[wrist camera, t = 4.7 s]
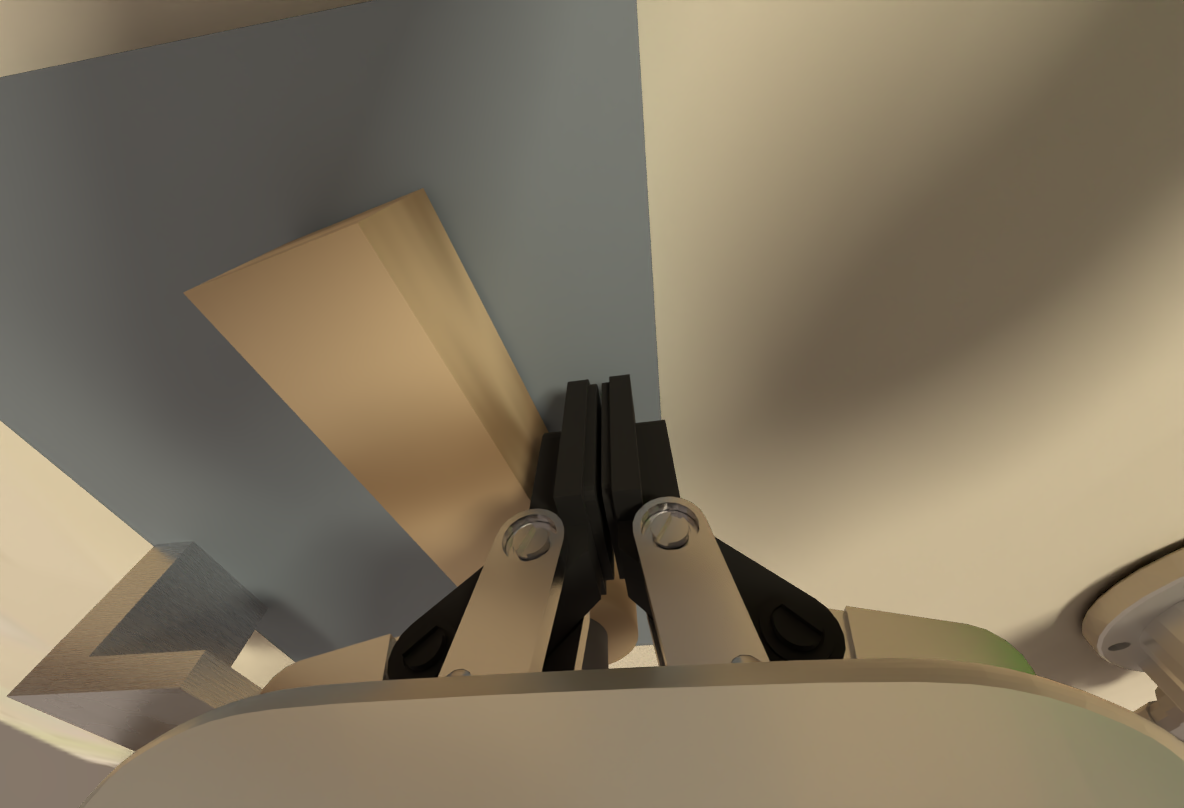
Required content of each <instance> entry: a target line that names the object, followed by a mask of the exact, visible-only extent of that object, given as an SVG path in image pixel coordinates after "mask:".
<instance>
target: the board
mask: <svg viewBox="0 0 1184 808" xmlns="http://www.w3.org/2000/svg"><path fill="white" fill-rule="evenodd" d="M422 188H424V190H425V192H426V194H427V196H428V198H429V200H430V202H431V204H432V206H433V208H434V210H435V212H436V214H437V216H438V218H439V220H440V221H441V223H442V225H443V227H444V229H445V231H446V233H447V235H448V237H449V239H450V241H451V243H452V245H453V247H454V249H455V251H456V253H457V255H458V257H459V259H460V260H461V262H462V264H463V266H464V268H465V270H466V272H467V274H468V276H469V278H470V280H471V282H472V284H473V286H474V288H475V290H476V292H477V294H478V296H479V297H480V299H481V301H482V303H483V305H484V307H485V309H486V311H487V313H488V315H489V317H490V319H491V321H492V323H493V325H494V327H495V329H496V331H497V333H498V335H499V336H500V338H501V340H502V342H503V344H504V346H505V348H506V350H507V352H508V354H509V356H510V358H511V360H512V362H513V364H514V366H515V368H516V370H517V372H518V373H519V375H520V377H521V379H522V381H523V383H524V385H525V387H526V389H527V391H528V393H529V395H530V397H531V399H532V401H533V403H534V405H535V407H536V409H537V411H538V412H539V414H540V416H541V418H542V420H543V422H544V424H545V426H546V428H547V430H548V432H549V433H550V432H559V431H561V430H562V422H563V414H564V406H565V398H566V390H567V383H568V382H570V381H578V380H586V379H588V380H589V382H590V384H597V385H598V390H599V396H600V401H601V407H602V383H606V382H609V377H610V376H618V375H626V374H630V380H631V388H632V396H633V404H634V412H635V420H636V423H640V422H649V421H658V420H661V409H660V392H659V375H658V358H657V341H656V325H655V308H654V291H653V274H652V257H651V240H650V223H649V206H648V189H647V172H646V155H645V138H644V121H643V104H642V87H641V70H640V53H639V36H638V19H637V2H636V0H373V1H368V2H364V3H359V4H354V5H349V6H344V7H339V8H335V9H330V10H325V11H320V12H315V13H310V14H305V15H301V16H296V17H291V18H286V19H281V20H276V21H271V22H267V23H262V24H257V25H252V26H247V27H242V28H238V29H233V30H228V31H223V32H218V33H213V34H208V35H204V36H199V37H194V38H189V39H184V40H179V41H174V42H170V43H165V44H160V45H155V46H150V47H145V48H140V49H136V50H131V51H126V52H121V53H116V54H111V55H107V56H102V57H97V58H92V59H87V60H82V61H77V62H73V63H68V64H63V65H58V66H53V67H48V68H43V69H39V70H34V71H29V72H24V73H19V74H14V75H10V76H5V77H0V421H2V422H3V423H4V424H5V425H6V426H8V427H9V428H10V429H11V430H13V431H14V432H15V433H16V434H17V435H19V436H20V437H21V438H22V439H24V440H25V441H26V442H27V443H28V444H30V445H31V446H32V447H33V448H35V449H36V450H37V451H38V452H39V453H41V454H42V455H43V456H44V457H45V458H47V459H48V460H49V461H50V462H52V463H53V464H54V465H55V466H56V467H58V468H59V469H60V470H61V471H63V472H64V473H65V474H66V475H67V476H69V477H70V478H71V479H72V480H74V481H75V482H76V483H77V484H78V485H80V486H81V487H82V488H83V489H85V490H86V491H87V492H88V493H89V494H91V495H92V496H93V497H94V498H96V499H97V500H98V501H99V502H100V503H102V504H103V505H104V506H105V507H106V508H108V509H109V510H110V511H111V512H113V513H114V514H115V515H116V516H117V517H119V518H120V519H121V520H122V521H124V522H125V523H126V524H127V525H128V526H130V527H131V528H132V529H133V530H135V531H136V532H137V533H138V534H139V535H141V536H142V537H143V538H144V539H146V540H147V541H148V542H149V543H150V544H152V545H153V546H155V545H156V544H163V543H175V542H186V541H194V542H195V543H196V544H197V545H198V546H199V547H201V548H202V549H203V550H204V551H205V552H206V553H207V554H208V555H209V556H211V557H212V558H213V559H214V560H215V561H216V562H217V563H218V564H220V565H221V566H222V567H223V568H224V569H225V570H226V571H227V572H228V573H230V574H231V575H232V576H233V577H234V578H235V579H236V580H237V581H239V582H240V583H241V584H242V585H243V586H244V587H245V588H246V589H247V590H249V591H250V592H251V593H252V594H253V595H254V596H255V597H256V598H258V599H259V600H260V601H261V602H262V603H263V604H264V605H265V606H266V607H268V610H267V611H266V613H265V614H264V616H263V618H262V619H261V621H260V622H259V624H258V625H257V627H256V628H255V630H257V631H258V632H259V633H260V634H261V635H263V636H264V637H265V638H266V639H268V640H269V641H270V642H271V643H272V644H274V645H275V646H276V647H277V648H279V649H280V650H281V651H282V652H283V653H285V654H286V655H287V656H288V657H290V658H291V659H292V660H293V661H294V662H298V661H300V660H304V659H307V658H310V657H314V656H317V655H321V654H324V653H327V652H331V651H334V650H337V649H341V648H344V647H347V646H351V645H354V644H357V643H361V642H364V641H368V640H371V639H374V638H378V637H381V636H384V635H388V634H391V635H392V636H393V637H394V638H395V637H399V636H401V634H402V633H403V632H404V631H405V630H406V629H407V628H408V627H409V626H410V625H411V624H413V623H414V622H415V621H416V620H417V619H419V618H420V617H421V616H422V615H424V614H425V613H426V612H427V611H428V610H430V609H431V608H432V607H433V606H435V605H436V604H437V603H438V602H440V601H441V600H442V599H443V598H444V597H446V596H447V595H448V594H449V593H451V592H452V591H453V590H454V589H455V588H457V586H456V585H455V584H454V583H453V581H452V580H451V579H450V578H449V577H448V576H447V575H446V574H445V573H444V572H443V571H442V570H441V569H440V568H439V566H438V565H437V564H436V563H435V562H434V561H433V560H432V559H431V558H430V557H429V556H428V555H427V554H426V553H425V551H424V550H423V549H422V548H421V547H420V546H419V545H418V544H417V543H416V542H415V541H414V540H413V539H412V538H411V536H410V535H409V534H408V533H407V532H406V531H405V530H404V529H403V528H402V527H401V526H400V525H399V524H398V523H397V521H396V520H395V519H394V518H393V517H392V516H391V515H390V514H389V513H388V512H387V511H386V510H385V509H384V508H383V506H382V505H381V504H380V503H379V502H378V501H377V500H376V499H375V498H374V497H373V496H372V495H371V494H370V493H369V491H368V490H367V489H366V488H365V487H364V486H363V485H362V484H361V483H360V482H359V481H358V480H357V479H356V478H355V476H354V475H353V474H352V473H351V472H350V471H349V470H348V469H347V468H346V467H345V466H344V465H343V464H342V463H341V461H340V460H339V459H338V458H337V457H336V456H335V455H334V454H333V453H332V452H331V451H330V450H329V449H328V448H327V446H326V445H325V444H324V443H323V442H322V441H321V440H320V439H319V438H318V437H317V436H316V435H315V434H314V433H313V431H312V430H311V429H310V428H309V427H308V426H307V425H306V424H305V423H304V422H303V421H302V420H301V419H300V418H299V416H298V415H297V414H296V413H295V412H294V411H293V410H292V409H291V408H290V407H289V406H288V405H287V404H286V403H285V401H284V400H283V399H282V398H281V397H280V396H279V395H278V394H277V393H276V392H275V391H274V390H273V389H272V388H271V386H270V385H269V384H268V383H267V382H266V381H265V380H264V379H263V378H262V377H261V376H260V375H259V374H258V373H257V371H256V370H255V369H254V368H253V367H252V366H251V365H250V364H249V363H248V362H247V361H246V360H245V359H244V358H243V356H242V355H241V354H240V353H239V352H238V351H237V350H236V349H235V348H234V347H233V346H232V345H231V344H230V343H229V341H228V340H227V339H226V338H225V337H224V336H223V335H222V334H221V333H220V332H219V331H218V330H217V329H216V328H215V326H214V325H213V324H212V323H211V322H210V321H209V320H208V319H207V318H206V317H205V316H204V315H203V314H202V313H201V311H200V310H199V309H198V308H197V307H196V306H195V305H194V304H193V303H192V302H191V301H190V300H189V299H188V298H187V296H186V295H185V294H184V293H183V292H185V291H188V290H190V289H192V288H194V287H196V286H198V285H200V284H202V283H204V282H206V281H208V280H211V279H213V278H215V277H217V276H219V275H221V274H223V273H225V272H227V271H229V270H232V269H234V268H236V267H238V266H240V265H242V264H244V263H246V262H248V261H250V260H252V259H255V258H257V257H259V256H261V255H263V254H265V253H267V252H269V251H271V250H273V249H275V248H278V247H280V246H282V245H284V244H286V243H288V242H291V241H293V240H295V239H298V238H300V237H303V236H305V235H308V234H310V233H313V232H315V231H318V230H320V229H323V228H325V227H328V226H330V225H333V224H335V223H338V222H340V221H343V220H345V219H347V218H350V217H352V216H355V215H357V214H360V213H362V212H365V211H367V210H370V209H372V208H375V207H377V206H380V205H382V204H385V203H387V202H390V201H392V200H395V199H397V198H400V197H402V196H404V195H407V194H409V193H412V192H414V191H417V190H419V189H422ZM636 610H637V623H638V641H637V643H636V645H635V646H640V645H653V641H652V636H651V632H650V628H649V624H648V620H647V615H646V612H645V611H644V610H643V609H642V608H640V607H639V606H638V605H637V604H636Z"/></svg>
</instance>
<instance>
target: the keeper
mask: <svg viewBox="0 0 1184 808" xmlns="http://www.w3.org/2000/svg"><path fill="white" fill-rule="evenodd" d="M267 610H268V607H266V606H265V605H264V604H263V603H262V602H261V601H260V600H259V599H258V598H256V597H255V596H254V595H253V594H252V593H251V592H250V591H249V590H247V589H246V588H245V587H244V586H243V585H242V584H241V583H240V582H239V581H237V580H236V579H235V578H234V577H233V576H232V575H231V574H230V573H228V572H227V571H226V570H225V569H224V568H223V567H222V566H221V565H220V564H218V563H217V562H216V561H215V560H214V559H213V558H212V557H211V556H209V555H208V554H207V553H206V552H205V551H204V550H203V549H202V548H201V547H199V546H198V545H197V544H196V543H195V542H194V541H186V542H175V543H163V544H156V545H155V546H154V547H153V548H152V549H151V550H150V551H149V552H148V553H147V554H146V555H145V556H144V557H143V558H142V559H141V560H140V561H139V562H138V563H137V564H136V565H135V566H134V567H133V568H132V569H131V570H130V571H129V572H128V573H127V574H126V575H125V576H124V577H123V578H122V579H121V580H120V581H119V582H118V583H117V584H116V585H115V586H114V587H113V588H112V590H111V591H110V592H109V593H108V594H107V595H106V596H105V597H104V598H103V599H102V600H101V601H100V602H99V603H98V604H97V605H96V606H95V607H94V608H93V609H92V610H91V611H90V612H89V613H88V614H87V615H86V616H85V617H84V618H83V619H82V620H81V621H80V622H79V623H78V624H77V625H76V626H75V627H74V628H73V629H72V630H71V631H70V632H69V633H68V634H67V635H66V636H65V637H64V638H63V639H62V640H61V641H60V642H59V643H58V644H57V645H56V646H55V647H54V649H53V650H52V651H51V652H50V653H49V654H48V655H47V656H46V657H45V658H44V659H43V660H42V661H41V662H40V663H39V664H38V665H37V666H36V667H35V668H34V669H33V670H32V671H31V672H30V673H29V674H28V675H27V676H26V677H25V678H24V679H23V680H22V681H21V682H20V683H19V684H18V685H17V686H16V687H15V688H14V689H13V690H12V691H11V692H10V693H9V694H8V695H7V697H9V698H11V699H14V700H16V701H18V702H21V703H23V704H25V705H28V706H30V707H33V708H35V709H37V710H40V711H42V712H44V713H47V714H49V715H51V716H54V717H56V718H58V719H61V720H63V721H65V722H68V723H70V724H72V725H75V726H77V727H79V728H82V729H84V730H87V731H89V732H91V733H94V734H96V735H98V736H101V737H103V738H105V739H108V740H110V741H112V742H115V743H117V744H119V745H122V746H124V747H126V748H129V749H131V750H133V751H137V750H138V749H140V748H141V747H143V746H145V745H146V744H148V743H149V742H151V741H153V740H154V739H156V738H157V737H159V736H161V735H162V734H164V733H166V732H167V731H169V730H171V729H173V728H175V727H176V726H178V725H180V724H182V723H184V722H187V721H189V720H191V719H193V718H195V717H198V716H200V715H202V714H204V713H206V712H209V711H211V710H213V709H216V708H218V707H221V706H224V705H226V704H229V703H231V702H235V701H238V700H241V699H244V698H247V697H251V696H255V695H259V694H260V693H261V691H262V690H263V689H261V688H260V687H258V686H257V685H255V684H254V683H253V682H251V681H250V680H248V679H247V678H245V677H244V676H242V675H241V674H240V673H238V672H237V671H235V670H234V669H232V668H231V666H232V664H233V663H234V661H235V660H236V658H237V656H238V655H239V653H240V652H241V650H242V649H243V647H244V646H245V644H246V642H247V641H248V639H249V638H250V636H251V635H252V633H253V632H254V630H255V628H256V627H257V625H258V624H259V622H260V621H261V619H262V618H263V616H264V614H265V613H266V611H267Z"/></svg>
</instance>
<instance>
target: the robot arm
mask: <svg viewBox="0 0 1184 808" xmlns="http://www.w3.org/2000/svg"><path fill="white" fill-rule="evenodd" d="M614 555H615V559H616V564H617V569H618V574H619V578H620V579H625V583H626V588H627V593H628V597H629V598H630V599H631V600H632V601H633V602H635V603H636V604H637V605H638V606H639V607H640V608H642V609H643V610H644V611H645V612H646V615H647V620H648V624H649V628H650V632H651V636H652V641H653V645H654V649H655V653H656V657H657V661H658V665H659V666H656V667H635V668H614V669H593V670H581V669H582V663H583V657H584V652H585V646H586V640H587V634H588V629H589V623H590V610H591V609H592V608H593V607H594V606H595V605H596V604H597V603H598V602H599V601H600V600H601V595H607V590H606V580H614V577H615V572H614ZM1082 633H1083V636H1084V637H1085V639H1086V640H1087V641H1088V643H1089V644H1090V645H1091V646H1092V647H1093V648H1094V649H1095V651H1096V652H1097V653H1098V654H1099V655H1100V656H1101V657H1102V658H1103V659H1105V660H1106V661H1107V662H1108V663H1111V664H1114V665H1116V666H1119V667H1122V668H1125V669H1129V670H1135V671H1140V672H1145V673H1146V674H1147V675H1148V676H1149V677H1150V678H1151V679H1152V680H1153V681H1154V682H1155V683H1156V684H1157V686H1158V687H1157V688H1156V690H1155V693H1156V698H1157V701H1152V702H1148V703H1147V704H1145V705H1143V706H1142V707H1140V708H1139V709H1137V710H1135V711H1134V712H1132V711H1130V710H1128V709H1126V708H1124V707H1121V706H1119V705H1117V704H1114V703H1112V702H1110V701H1107V700H1105V699H1102V698H1100V697H1098V696H1095V695H1093V694H1090V693H1088V692H1086V691H1083V690H1080V689H1077V688H1074V687H1071V686H1068V685H1065V684H1062V683H1059V682H1056V681H1053V680H1050V679H1047V678H1044V677H1040V676H1036V674H1035V672H1034V671H1033V669H1032V668H1031V666H1030V665H1029V664H1028V662H1027V661H1026V659H1025V658H1024V657H1023V655H1022V654H1021V653H1020V652H1018V651H1017V650H1016V649H1015V648H1014V647H1013V646H1012V645H1010V644H1009V643H1008V642H1007V641H1006V640H1004V639H1002V638H1001V637H999V636H997V635H995V634H993V633H992V632H990V631H988V630H986V629H983V628H979V627H976V626H972V625H969V624H963V623H957V622H950V621H943V620H937V619H930V618H923V617H916V616H910V615H903V614H896V613H890V612H883V611H876V610H870V609H863V608H856V607H850V606H846V607H845V610H844V611H841V610H835V609H828V608H827V607H825V606H824V605H823V604H821V603H820V602H819V601H818V600H816V599H815V598H813V597H812V596H810V595H808V594H807V593H805V592H803V591H802V590H800V589H799V588H797V587H795V586H794V585H792V584H790V583H789V582H787V581H786V580H784V579H782V578H781V577H779V576H777V575H776V574H774V573H773V572H771V571H769V570H768V569H766V568H764V567H763V566H761V565H760V564H758V563H756V562H755V561H753V560H751V559H750V558H748V557H747V556H745V555H743V554H742V553H740V552H738V551H737V550H735V549H734V548H732V547H730V546H729V545H727V544H725V543H724V542H722V541H721V540H719V539H717V538H716V537H714V535H713V533H712V530H711V528H710V526H709V524H708V521H707V519H706V517H705V516H704V514H703V513H702V511H701V510H700V508H698V507H697V506H696V505H694V504H693V503H692V502H690V501H687V500H685V499H683V498H680V495H679V489H678V484H677V479H676V474H675V469H674V464H673V458H672V453H671V448H670V443H669V438H668V432H667V427H666V423H665V420H658V421H649V422H640V423H636V420H635V412H634V404H633V396H632V388H631V380H630V374H626V375H618V376H610V377H609V382H606V383H602V407H601V401H600V396H599V390H598V385H597V384H590V382H589V380H588V379H586V380H578V381H570V382H568V383H567V390H566V398H565V406H564V414H563V422H562V430H561V431H559V432H550V433H544V434H543V436H542V441H541V446H540V452H539V457H538V463H537V468H536V474H535V480H534V485H533V491H532V496H531V502H530V508H529V510H526V511H523V512H520V513H518V514H516V515H514V516H513V517H511V518H510V519H508V520H507V521H506V522H505V523H504V524H503V525H502V526H501V528H500V530H499V532H498V533H497V535H496V537H495V540H494V542H493V545H492V547H491V549H490V552H489V554H488V557H487V559H486V562H485V564H484V566H482V567H481V568H480V569H479V570H478V571H476V572H475V573H474V574H473V575H471V576H470V577H469V578H468V579H467V580H465V581H464V582H463V583H462V584H460V585H459V586H458V587H457V588H455V589H454V590H453V591H452V592H451V593H449V594H448V595H447V596H446V597H444V598H443V599H442V600H441V601H440V602H438V603H437V604H436V605H435V606H433V607H432V608H431V609H430V610H428V611H427V612H426V613H425V614H424V615H422V616H421V617H420V618H419V619H417V620H416V621H415V622H414V623H413V624H411V625H410V626H409V627H408V628H407V629H406V630H405V631H404V632H403V633H402V634H401V636H399V637H395V638H394V637H393V636H392V635H391V634H388V635H384V636H381V637H378V638H374V639H371V640H368V641H364V642H361V643H357V644H354V645H351V646H347V647H344V648H341V649H337V650H334V651H331V652H327V653H324V654H321V655H317V656H314V657H310V658H307V659H304V660H300V661H298V662H296V663H294V664H291V665H289V666H287V667H285V668H284V669H283V670H282V671H280V672H279V673H278V674H277V675H275V676H274V677H273V678H272V679H271V680H270V681H269V683H268V684H267V685H266V686H265V687H264V688H263V690H262V691H261V693H260V694H259V695H255V696H251V697H247V698H244V699H241V700H238V701H235V702H231V703H229V704H226V705H224V706H221V707H218V708H216V709H213V710H211V711H209V712H206V713H204V714H202V715H200V716H198V717H195V718H193V719H191V720H189V721H187V722H184V723H182V724H180V725H178V726H176V727H175V728H173V729H171V730H169V731H167V732H166V733H164V734H162V735H161V736H159V737H157V738H156V739H154V740H153V741H151V742H149V743H148V744H146V745H145V746H143V747H141V748H140V749H138V750H137V751H136V752H134V753H133V754H132V755H131V756H129V757H128V758H127V759H126V760H124V761H123V762H122V763H120V764H119V765H118V766H117V767H116V768H115V769H114V770H113V771H112V772H111V773H110V774H109V775H108V776H107V777H106V778H105V779H104V780H103V781H102V782H101V783H100V784H99V785H98V786H97V788H96V789H94V791H93V792H92V793H91V794H90V795H89V796H88V797H87V798H86V799H85V801H84V802H83V803H82V804H81V805H80V807H79V808H1184V547H1183V548H1181V549H1178V550H1176V551H1174V552H1171V553H1169V554H1167V555H1165V556H1163V557H1161V558H1159V559H1157V560H1155V561H1153V562H1152V563H1150V564H1148V565H1146V566H1144V567H1142V568H1140V569H1138V570H1137V571H1135V572H1133V573H1132V574H1130V575H1129V576H1127V577H1126V578H1124V579H1123V580H1121V581H1119V582H1118V583H1116V584H1115V585H1114V586H1112V587H1111V588H1110V589H1109V590H1108V591H1106V592H1105V593H1104V594H1103V595H1101V596H1100V597H1099V598H1098V599H1097V600H1096V601H1095V603H1094V604H1093V605H1092V606H1091V607H1090V609H1089V610H1088V611H1087V613H1086V615H1085V618H1084V620H1083V622H1082Z"/></svg>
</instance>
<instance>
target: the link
mask: <svg viewBox="0 0 1184 808" xmlns="http://www.w3.org/2000/svg"><path fill="white" fill-rule="evenodd" d="M183 293H184V294H185V295H186V296H187V298H188V299H189V300H190V301H191V302H192V303H193V304H194V305H195V306H196V307H197V308H198V309H199V310H200V311H201V313H202V314H203V315H204V316H205V317H206V318H207V319H208V320H209V321H210V322H211V323H212V324H213V325H214V326H215V328H216V329H217V330H218V331H219V332H220V333H221V334H222V335H223V336H224V337H225V338H226V339H227V340H228V341H229V343H230V344H231V345H232V346H233V347H234V348H235V349H236V350H237V351H238V352H239V353H240V354H241V355H242V356H243V358H244V359H245V360H246V361H247V362H248V363H249V364H250V365H251V366H252V367H253V368H254V369H255V370H256V371H257V373H258V374H259V375H260V376H261V377H262V378H263V379H264V380H265V381H266V382H267V383H268V384H269V385H270V386H271V388H272V389H273V390H274V391H275V392H276V393H277V394H278V395H279V396H280V397H281V398H282V399H283V400H284V401H285V403H286V404H287V405H288V406H289V407H290V408H291V409H292V410H293V411H294V412H295V413H296V414H297V415H298V416H299V418H300V419H301V420H302V421H303V422H304V423H305V424H306V425H307V426H308V427H309V428H310V429H311V430H312V431H313V433H314V434H315V435H316V436H317V437H318V438H319V439H320V440H321V441H322V442H323V443H324V444H325V445H326V446H327V448H328V449H329V450H330V451H331V452H332V453H333V454H334V455H335V456H336V457H337V458H338V459H339V460H340V461H341V463H342V464H343V465H344V466H345V467H346V468H347V469H348V470H349V471H350V472H351V473H352V474H353V475H354V476H355V478H356V479H357V480H358V481H359V482H360V483H361V484H362V485H363V486H364V487H365V488H366V489H367V490H368V491H369V493H370V494H371V495H372V496H373V497H374V498H375V499H376V500H377V501H378V502H379V503H380V504H381V505H382V506H383V508H384V509H385V510H386V511H387V512H388V513H389V514H390V515H391V516H392V517H393V518H394V519H395V520H396V521H397V523H398V524H399V525H400V526H401V527H402V528H403V529H404V530H405V531H406V532H407V533H408V534H409V535H410V536H411V538H412V539H413V540H414V541H415V542H416V543H417V544H418V545H419V546H420V547H421V548H422V549H423V550H424V551H425V553H426V554H427V555H428V556H429V557H430V558H431V559H432V560H433V561H434V562H435V563H436V564H437V565H438V566H439V568H440V569H441V570H442V571H443V572H444V573H445V574H446V575H447V576H448V577H449V578H450V579H451V580H452V581H453V583H454V584H455V585H456V586H457V587H458V586H459V585H460V584H462V583H463V582H464V581H465V580H467V579H468V578H469V577H470V576H471V575H473V574H474V573H475V572H476V571H478V570H479V569H480V568H481V567H482V566H484V564H485V562H486V559H487V557H488V554H489V552H490V549H491V547H492V545H493V542H494V540H495V537H496V535H497V533H498V532H499V530H500V528H501V526H502V525H503V524H504V523H505V522H506V521H507V520H508V519H510V518H511V517H513V516H514V515H516V514H518V513H520V512H523V511H526V510H529V508H530V502H531V496H532V491H533V485H534V480H535V474H536V468H537V463H538V457H539V452H540V446H541V441H542V436H543V434H544V433H549V432H548V430H547V428H546V426H545V424H544V422H543V420H542V418H541V416H540V414H539V412H538V411H537V409H536V407H535V405H534V403H533V401H532V399H531V397H530V395H529V393H528V391H527V389H526V387H525V385H524V383H523V381H522V379H521V377H520V375H519V373H518V372H517V370H516V368H515V366H514V364H513V362H512V360H511V358H510V356H509V354H508V352H507V350H506V348H505V346H504V344H503V342H502V340H501V338H500V336H499V335H498V333H497V331H496V329H495V327H494V325H493V323H492V321H491V319H490V317H489V315H488V313H487V311H486V309H485V307H484V305H483V303H482V301H481V299H480V297H479V296H478V294H477V292H476V290H475V288H474V286H473V284H472V282H471V280H470V278H469V276H468V274H467V272H466V270H465V268H464V266H463V264H462V262H461V260H460V259H459V257H458V255H457V253H456V251H455V249H454V247H453V245H452V243H451V241H450V239H449V237H448V235H447V233H446V231H445V229H444V227H443V225H442V223H441V221H440V220H439V218H438V216H437V214H436V212H435V210H434V208H433V206H432V204H431V202H430V200H429V198H428V196H427V194H426V192H425V190H424V188H422V189H419V190H417V191H414V192H412V193H409V194H407V195H404V196H402V197H400V198H397V199H395V200H392V201H390V202H387V203H385V204H382V205H380V206H377V207H375V208H372V209H370V210H367V211H365V212H362V213H360V214H357V215H355V216H352V217H350V218H347V219H345V220H343V221H340V222H338V223H335V224H333V225H330V226H328V227H325V228H323V229H320V230H318V231H315V232H313V233H310V234H308V235H305V236H303V237H300V238H298V239H295V240H293V241H291V242H288V243H286V244H284V245H282V246H280V247H278V248H275V249H273V250H271V251H269V252H267V253H265V254H263V255H261V256H259V257H257V258H255V259H252V260H250V261H248V262H246V263H244V264H242V265H240V266H238V267H236V268H234V269H232V270H229V271H227V272H225V273H223V274H221V275H219V276H217V277H215V278H213V279H211V280H208V281H206V282H204V283H202V284H200V285H198V286H196V287H194V288H192V289H190V290H188V291H185V292H183ZM614 572H615V577H614V580H606V590H607V595H601V600H600V601H599V602H598V603H597V604H596V605H595V606H594V607H593V608H592V609H591V610H590V623H589V629H588V634H587V640H586V646H585V652H584V657H583V663H582V669H581V670H593V669H608V664H611V663H613V662H616V661H618V660H620V659H621V658H623V657H625V656H626V655H627V654H629V653H630V652H631V651H632V650H633V648H634V647H635V645H636V643H637V641H638V623H637V610H636V603H635V602H633V601H632V600H631V599H630V598H629V597H628V593H627V588H626V583H625V579H620V578H619V574H618V569H617V564H616V559H615V555H614Z"/></svg>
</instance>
